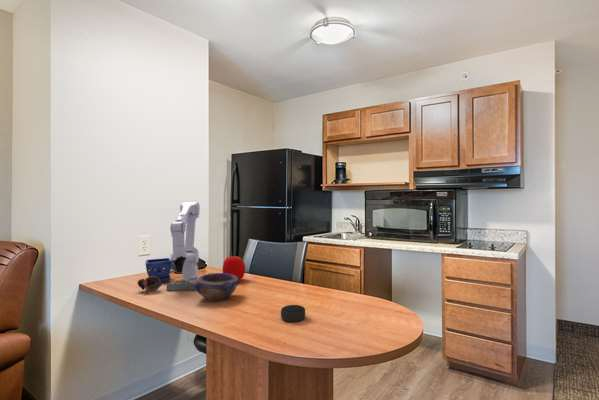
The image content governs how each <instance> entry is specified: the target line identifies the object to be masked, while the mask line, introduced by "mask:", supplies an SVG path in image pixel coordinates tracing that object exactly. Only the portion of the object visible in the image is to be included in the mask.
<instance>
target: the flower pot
mask: <svg viewBox="0 0 599 400" xmlns="http://www.w3.org/2000/svg"><path fill="white" fill-rule="evenodd" d="M145 270H146V273H147V277H150V276H155V277H158V278H160V281H161V283H166V282H170V280H171V275H170V274H171V270H172V260H171V257H166V258H165V257H162V258H153V259H152V258H151V259H145ZM158 282H159V281H158V280H157V281H155V284H157V283H158Z"/></svg>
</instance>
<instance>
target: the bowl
mask: <svg viewBox="0 0 599 400" xmlns="http://www.w3.org/2000/svg"><path fill="white" fill-rule="evenodd" d="M198 277H199V278H198V279H197V281H196V282H195V283H194V288H195V290H194V291H196V292H197V293H198V294H199V295H200V296H201V297H202V298H204V299H205V300H206V301H210V302H217V301H222V300H224V299H227V298H228V297H230V296H231V295H232V294H233V293H234V292H235V290H236V289H237V286H238V285H239V284H240V283H241V280H239V278H238V277H237V276H234V275H231V274H226V273H223V272H213V273H212V272H210V273H206V274H203V275H201V276H198Z"/></svg>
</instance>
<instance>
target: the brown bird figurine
mask: <svg viewBox="0 0 599 400" xmlns="http://www.w3.org/2000/svg"><path fill="white" fill-rule="evenodd" d="M157 280H158V281H159V282H158V283H155V281H157ZM137 286H139V287H140V288H141V289H142V291H143V290H144V291H145V292H144V293H146V294H149V293H150V292H154V291H157V290H158V289H159V288H160V287H162V286H163V285H162V282H161V281H160V278H158V277H155V276H150V277H149V276H147V278H144V279H142V278H140V279H138V281H137Z"/></svg>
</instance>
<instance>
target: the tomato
mask: <svg viewBox="0 0 599 400" xmlns="http://www.w3.org/2000/svg"><path fill="white" fill-rule="evenodd" d="M222 273H226V274H231V275H234V276H237V277H238V278H239V280H240V281H241V280H242V279H243V277H244V276H245V273H246V264H245V262H244V260H243V258H241V257H240V256H237V255H235V256H234V254H232V255H231V256H227V257H226V258H225V260H224V261H223V264H222Z"/></svg>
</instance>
